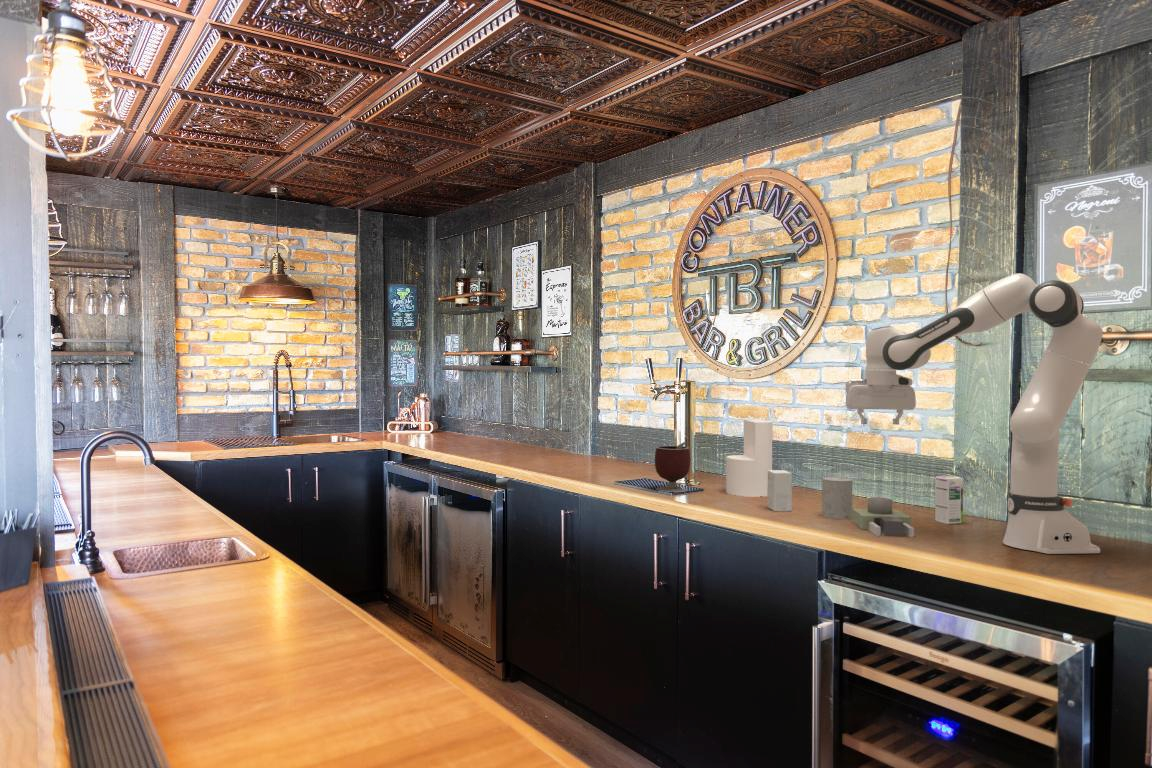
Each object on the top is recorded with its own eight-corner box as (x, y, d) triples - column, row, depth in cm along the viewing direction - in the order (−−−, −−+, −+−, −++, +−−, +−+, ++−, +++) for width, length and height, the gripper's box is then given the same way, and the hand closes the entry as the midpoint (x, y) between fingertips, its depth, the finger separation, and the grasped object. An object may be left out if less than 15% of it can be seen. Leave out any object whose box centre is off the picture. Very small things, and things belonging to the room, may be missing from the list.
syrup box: (948, 524, 235) (948, 478, 235) (934, 520, 241) (934, 475, 240) (963, 523, 236) (963, 477, 236) (949, 520, 242) (949, 474, 242)
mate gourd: (647, 489, 302) (648, 439, 301) (676, 486, 308) (677, 437, 307) (669, 495, 288) (670, 442, 287) (699, 492, 294) (700, 441, 294)
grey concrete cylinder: (854, 519, 242) (855, 481, 242) (823, 518, 244) (823, 480, 244) (850, 514, 251) (850, 477, 251) (820, 512, 253) (820, 476, 253)
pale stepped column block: (764, 489, 302) (765, 419, 302) (777, 496, 285) (778, 422, 284) (721, 489, 302) (722, 419, 301) (731, 496, 284) (732, 422, 284)
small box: (792, 511, 256) (792, 473, 255) (773, 511, 255) (774, 473, 255) (784, 507, 264) (785, 469, 263) (766, 507, 264) (767, 469, 263)
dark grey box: (897, 532, 224) (897, 517, 224) (903, 537, 218) (903, 521, 217) (879, 531, 225) (879, 516, 225) (884, 536, 218) (884, 520, 218)
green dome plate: (898, 522, 237) (898, 497, 237) (920, 537, 217) (920, 509, 216) (852, 521, 239) (852, 496, 239) (869, 535, 218) (869, 508, 218)
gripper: (848, 379, 232) (847, 424, 232) (918, 379, 229) (917, 425, 229) (843, 379, 238) (842, 422, 238) (911, 379, 235) (910, 424, 236)
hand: (879, 424), depth 234 cm, fingers open, 8 cm apart
